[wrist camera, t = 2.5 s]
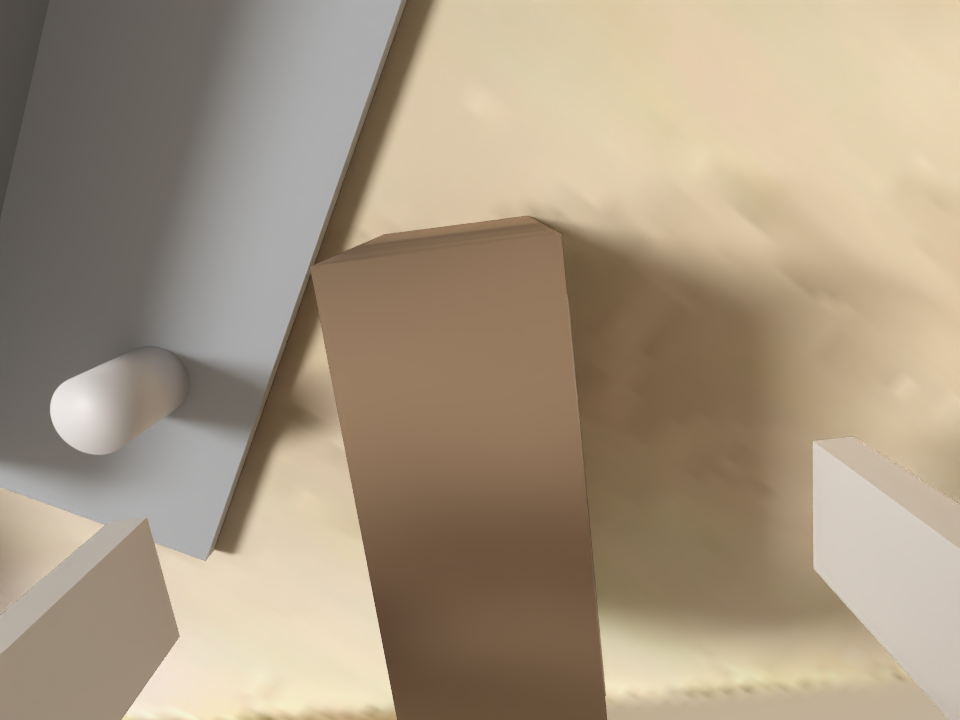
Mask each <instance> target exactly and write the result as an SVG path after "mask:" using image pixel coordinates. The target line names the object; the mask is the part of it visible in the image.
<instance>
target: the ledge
mask: <svg viewBox="0 0 960 720" xmlns="http://www.w3.org/2000/svg"><path fill="white" fill-rule="evenodd" d="M406 2H407V0H0V487H1V488H4V489H7V490H10V491H12V492H15V493H18V494H21V495H23V496H26V497H29V498H32V499H35V500H37V501H40V502H43V503H46V504H48V505H51V506H54V507H57V508H60V509H62V510H65V511H68V512H71V513H73V514H76V515H79V516H82V517H85V518H87V519H90V520H93V521H96V522H98V523H101V524H104V525H106V524H107V523H109V522H110V521H119V520H127V519H136V518H145V517H147V519H148V523H149V526H150V530H151V533H152V537H153V541H154V543H157V544H159V545H162V546H165V547H168V548H171V549H173V550H176V551H179V552H182V553H184V554H187V555H190V556H193V557H196V558H198V559H201V560H204V561H206V560H207V559H208V557H209V556H210V555H211V553H212V552H213V551H214V548H215V545H216V542H217V539H218V536H219V533H220V531H221V528H222V525H223V522H224V519H225V516H226V514H227V511H228V508H229V505H230V502H231V499H232V496H233V494H234V491H235V488H236V485H237V482H238V479H239V477H240V474H241V471H242V468H243V465H244V462H245V460H246V457H247V454H248V451H249V448H250V445H251V442H252V440H253V437H254V434H255V431H256V428H257V425H258V423H259V420H260V417H261V414H262V411H263V408H264V405H265V403H266V400H267V397H268V394H269V391H270V388H271V386H272V383H273V380H274V377H275V374H276V371H277V369H278V366H279V363H280V360H281V357H282V354H283V351H284V349H285V346H286V343H287V340H288V337H289V334H290V332H291V329H292V326H293V323H294V320H295V317H296V314H297V312H298V309H299V306H300V303H301V300H302V297H303V295H304V292H305V289H306V286H307V283H308V280H309V278H310V275H311V270H310V266H312V265H314V263H315V260H316V258H317V255H318V252H319V249H320V246H321V243H322V241H323V238H324V235H325V232H326V229H327V226H328V223H329V221H330V218H331V215H332V212H333V209H334V206H335V204H336V201H337V198H338V195H339V192H340V189H341V187H342V184H343V181H344V178H345V175H346V172H347V169H348V167H349V164H350V161H351V158H352V155H353V152H354V150H355V147H356V144H357V141H358V138H359V135H360V132H361V130H362V127H363V124H364V121H365V118H366V115H367V113H368V110H369V107H370V104H371V101H372V98H373V96H374V93H375V90H376V87H377V84H378V81H379V78H380V76H381V73H382V70H383V67H384V64H385V61H386V59H387V56H388V53H389V50H390V47H391V44H392V41H393V39H394V36H395V33H396V30H397V27H398V24H399V22H400V19H401V16H402V13H403V10H404V7H405V5H406Z"/></svg>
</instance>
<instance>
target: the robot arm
mask: <svg viewBox="0 0 960 720" xmlns="http://www.w3.org/2000/svg"><path fill="white" fill-rule="evenodd" d="M813 569H814V570H815V571H816V572H817V573H818V574H819V575H820V576H821V578H822V579H823V580H824V581H825V582H826V583H827V584H828V585H829V587H830V588H831V589H832V590H833V591H834V592H835V593H836V594H837V596H838V597H839V598H840V599H841V600H842V601H843V602H844V603H845V605H846V606H847V607H848V608H849V609H850V610H851V611H852V612H853V614H854V615H855V616H856V617H857V618H858V619H859V620H860V621H861V622H862V624H863V625H864V626H865V627H866V628H867V629H868V630H869V631H870V633H871V634H872V635H873V636H874V637H875V638H876V639H877V640H878V642H879V643H880V644H881V645H882V646H883V647H884V648H885V649H886V651H887V652H888V653H889V654H890V655H891V656H892V657H893V658H894V660H895V661H896V662H897V663H898V664H899V665H900V666H901V667H902V668H903V670H904V671H905V672H906V673H907V674H908V675H909V676H910V677H911V679H912V680H913V681H914V682H915V683H916V684H917V685H918V686H919V688H920V689H921V690H922V691H923V692H924V693H925V694H926V695H927V697H928V698H929V699H930V700H931V701H932V702H933V703H934V704H935V706H936V707H937V708H938V709H939V710H940V711H941V712H942V713H943V714H944V716H945V717H946V718H947V719H948V720H960V504H958V503H957V502H955V501H954V500H952V499H950V498H949V497H947V496H946V495H944V494H943V493H941V492H939V491H938V490H936V489H935V488H933V487H932V486H930V485H929V484H927V483H925V482H924V481H922V480H921V479H919V478H918V477H916V476H915V475H913V474H911V473H910V472H908V471H907V470H905V469H904V468H902V467H900V466H899V465H897V464H896V463H894V462H893V461H891V460H890V459H888V458H886V457H885V456H883V455H882V454H880V453H879V452H877V451H875V450H874V449H872V448H871V447H869V446H868V445H866V444H865V443H863V442H861V441H860V440H858V439H857V438H855V437H854V436H851V437H842V438H834V439H825V440H816V441H813ZM179 637H180V636H179V632H178V628H177V625H176V621H175V617H174V614H173V610H172V606H171V603H170V599H169V596H168V592H167V588H166V585H165V581H164V577H163V574H162V570H161V566H160V563H159V559H158V555H157V552H156V548H155V544H154V541H153V537H152V533H151V530H150V526H149V523H148V519H147V517H145V518H136V519H127V520H119V521H110V522H109V523H107V524H106V525H105V526H104V527H103V528H102V529H100V530H99V531H98V532H97V533H96V534H95V535H93V536H92V537H91V538H90V539H89V540H88V541H86V542H85V543H84V544H83V545H82V546H81V547H79V548H78V549H77V550H76V551H75V552H74V553H72V554H71V555H70V556H69V557H68V558H66V559H65V560H64V561H63V562H62V563H61V564H59V565H58V566H57V567H56V568H55V569H54V570H52V571H51V572H50V573H49V574H48V575H47V576H45V577H44V578H43V579H42V580H41V581H40V582H38V583H37V584H36V585H35V586H34V587H33V588H31V589H30V590H29V591H28V592H27V593H25V594H24V595H23V596H22V597H21V598H20V599H18V600H17V601H16V602H15V603H14V604H13V605H11V606H10V607H9V608H8V609H7V610H6V611H4V612H3V613H2V614H1V615H0V720H121V719H122V718H123V717H124V715H125V714H126V712H127V711H128V709H129V708H130V707H131V705H132V704H133V702H134V701H135V699H136V698H137V697H138V695H139V694H140V692H141V691H142V689H143V688H144V687H145V685H146V684H147V682H148V681H149V679H150V678H151V677H152V675H153V674H154V672H155V671H156V670H157V668H158V667H159V665H160V664H161V662H162V661H163V660H164V658H165V657H166V655H167V654H168V652H169V651H170V650H171V648H172V647H173V645H174V644H175V642H176V641H177V640H178V638H179Z"/></svg>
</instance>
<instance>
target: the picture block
mask: <svg viewBox="0 0 960 720" xmlns="http://www.w3.org/2000/svg"><path fill="white" fill-rule="evenodd" d="M310 270H311V275H312V281H313V286H314V291H315V296H316V301H317V307H318V312H319V317H320V322H321V327H322V332H323V338H324V343H325V348H326V353H327V358H328V364H329V369H330V374H331V379H332V384H333V389H334V395H335V400H336V405H337V410H338V415H339V421H340V426H341V431H342V436H343V441H344V446H345V452H346V457H347V462H348V467H349V472H350V478H351V483H352V488H353V493H354V498H355V503H356V509H357V514H358V519H359V524H360V529H361V534H362V540H363V545H364V550H365V555H366V560H367V566H368V571H369V576H370V581H371V586H372V591H373V597H374V602H375V607H376V612H377V617H378V623H379V628H380V633H381V638H382V643H383V648H384V654H385V659H386V664H387V669H388V674H389V680H390V685H391V690H392V695H393V700H394V705H395V711H396V716H397V720H607V713H606V702H605V696H606V692H605V682H604V671H603V660H602V650H601V639H600V629H599V618H598V607H597V597H596V586H595V575H594V565H593V554H592V543H591V533H590V522H589V512H588V501H587V490H586V480H585V469H584V458H583V448H582V437H581V426H580V416H579V405H578V395H577V384H576V373H575V363H574V352H573V341H572V331H571V320H570V309H569V299H568V295H567V289H566V279H565V268H564V258H563V247H562V236H561V234H560V233H558V232H557V231H555V230H553V229H551V228H549V227H548V226H546V225H544V224H542V223H540V222H538V221H537V220H535V219H533V218H531V217H529V216H522V217H514V218H507V219H499V220H491V221H484V222H476V223H468V224H461V225H453V226H445V227H438V228H430V229H422V230H414V231H407V232H399V233H391V234H384V235H382V236H380V237H377V238H375V239H373V240H370V241H368V242H366V243H363V244H361V245H359V246H356V247H354V248H352V249H349V250H347V251H345V252H342V253H340V254H338V255H335V256H333V257H331V258H328V259H326V260H324V261H321V262H319V263H317V264H314V265H312V266H310Z"/></svg>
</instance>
